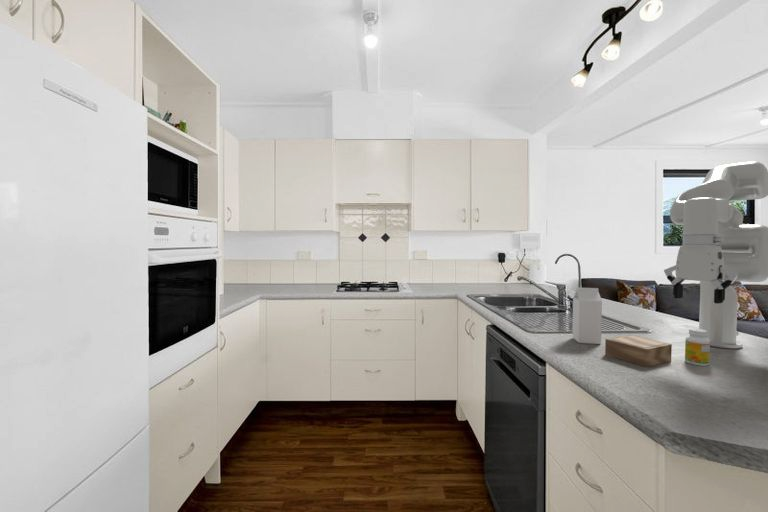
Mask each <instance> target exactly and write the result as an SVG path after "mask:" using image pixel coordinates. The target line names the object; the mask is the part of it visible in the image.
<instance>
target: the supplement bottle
mask: <svg viewBox="0 0 768 512" xmlns="http://www.w3.org/2000/svg"><path fill="white" fill-rule="evenodd" d="M688 334H689V335H686V337H685V340H684V343H685V347H684V350H685V352H684V361H685V362H686V363H687V364H691V365H695V366H701V367H706V366H709V365H710V353H711V352H710V351H711V350H710V349H711V346H710V340H709V339H708V338H706V336H707V331H706V330H702V329H699V328H688Z"/></svg>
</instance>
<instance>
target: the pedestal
mask: <svg viewBox="0 0 768 512" xmlns="http://www.w3.org/2000/svg"><path fill="white" fill-rule="evenodd" d="M672 345H673V344H671V343H667V342H663V341H658V340H654V339H650V338H645V337H641V336H636V335H633V334H632V335H631V334H626V335H621V336H614V337H610V338H605V346H604V349H605V352H604V355H605V356H608V357H611V358H615V359H619V360H621V361H624V362H629V363H632V364H636V365H638V366H641V367H645V368H646V367H651V366H652V367H653V366H657V365H660V364H664V363H665V364H666V363H669V362H672V349H673V348H672V347H673V346H672Z"/></svg>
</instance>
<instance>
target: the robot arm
mask: <svg viewBox="0 0 768 512" xmlns="http://www.w3.org/2000/svg"><path fill="white" fill-rule="evenodd" d="M767 196H768V169H767V167H766V166H765V165H764V163H761V161H747V162H746V161H745V162H738V163H731V164H729V163H728V164H724V165H723V164H722V165H717V166H715V167H713V168H711V169H710V170H709V171H708V172H707V174H706V176H705V177H704V179H703V181H702V183H700V184H698V185H696V186H694V187H692V188H689V189H686V190H684V191H683V192H681V193H680V194H678V195H677V196H676V197H675V199H674V201H673V202H672V205H671V207H670V211H669V219H670V220H671V222H672V223H673V224H674V225H676V226H677V225H678V226H682V245H680V246H679V249H678V253H677V256H676V261H675V262H676V264H675V265H673V266H670V267H668V268H665V269H664V270H663V272H664V274H665V276H666V278H667V280H668V281H669V282H670V283H671V285H672V286H673V288H672V291H673V293H672V294H673V298H674V299H676V300H677V299H682V298H683V297H684V285H683V284H682V283H683V282H685V281H696V282H697V281H698V282H700V283H699V285H700V287H699V288H700V289H699V292H700V293H699V315H698V316H699V317H698V329H702V330H706V331H707V336H706V338H708V339H709V340H710V347H714V348H721V349H741V348H743V343H742V342H740V341H737V337H738V336H739V335H740V333H739V331H737V325H738V324H737V323H738V299H739V297H738V292H737V291H736V289H735V288H734V287H733V286H732V285H733V284H734V283H735V282H743V283H744V282H745V283H762V282H765V281H767V280H768V226H767V225H764V224H743V222H744V214H743V212H741V210H739V209H738V208H737V207H736V206H734V205H733V204H732V203H731V202H732V201H735V202H736V201H747V200H748V201H749V200H751V201H752V200H761V199H765V198H766V197H767ZM673 272H675V275H673Z"/></svg>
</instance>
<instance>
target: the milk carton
mask: <svg viewBox="0 0 768 512" xmlns="http://www.w3.org/2000/svg"><path fill="white" fill-rule="evenodd" d="M572 298H573V299H572V300H573V301H572V335H571V336H572V339H573V340H574V341H576V342H577V343H578V344H594V345H595V344H596V345H601V344H602V322H603V321H602V318H603V317H602V315H603V314H602V313H603V299H602V298H601V295H600V292H599V288H598V287H576V290H575V292H574V294H573V297H572Z"/></svg>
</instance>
